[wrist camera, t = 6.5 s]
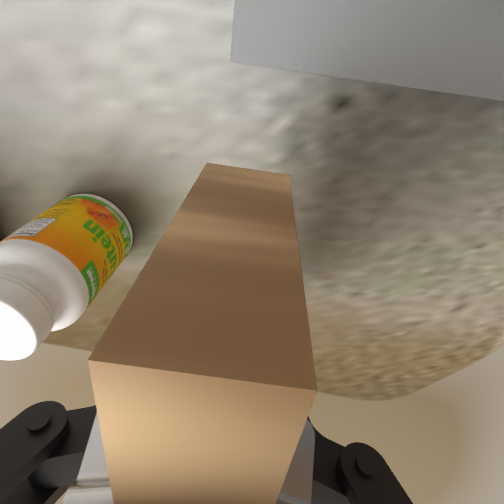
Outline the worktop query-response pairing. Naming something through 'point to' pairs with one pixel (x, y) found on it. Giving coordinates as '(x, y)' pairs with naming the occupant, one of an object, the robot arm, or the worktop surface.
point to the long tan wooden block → (210, 352)
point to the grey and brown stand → (379, 41)
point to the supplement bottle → (57, 269)
